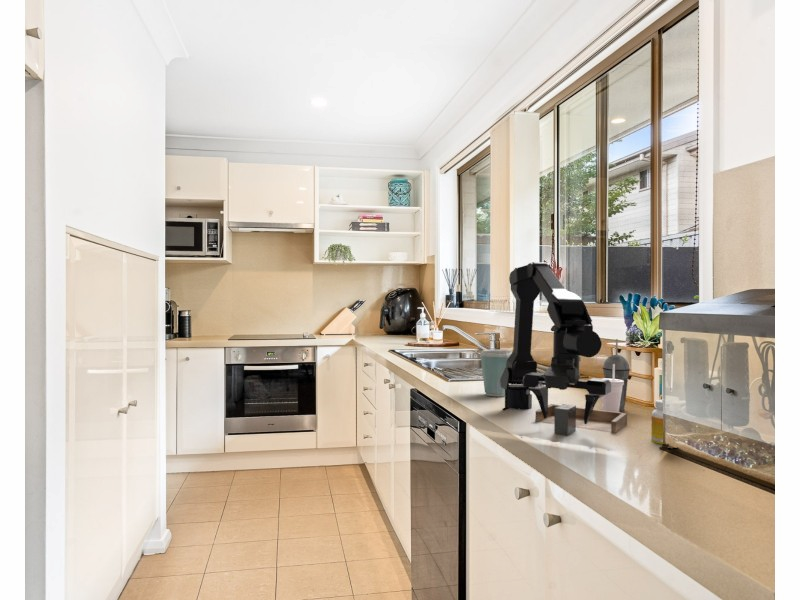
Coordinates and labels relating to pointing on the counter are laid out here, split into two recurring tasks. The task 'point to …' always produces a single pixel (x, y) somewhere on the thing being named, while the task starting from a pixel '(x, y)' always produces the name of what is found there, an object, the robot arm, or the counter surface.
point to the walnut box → (596, 421)
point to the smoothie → (613, 394)
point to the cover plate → (565, 420)
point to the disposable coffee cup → (494, 370)
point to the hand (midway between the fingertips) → (565, 420)
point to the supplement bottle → (657, 423)
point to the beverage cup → (618, 372)
